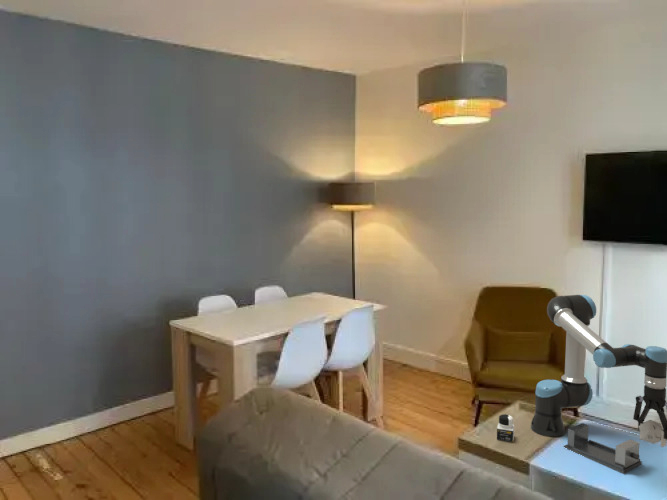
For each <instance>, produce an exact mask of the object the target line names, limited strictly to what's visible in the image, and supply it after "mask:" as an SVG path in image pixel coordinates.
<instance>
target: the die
mask: <svg viewBox="0 0 667 500" xmlns="http://www.w3.org/2000/svg"><path fill="white" fill-rule="evenodd" d="M644 422H645V423H643V424H641V425H640V426H638V425H637V428H638V427H639V430H638V431H639V433H640V432H641V435H642V438H643V441H645V442H648V443H651V444H653V445H654V444H656V443H659V442H661V430H663V427H662V424H661V422H658V421H654V420H653V419H649V420H648V419H647V420H646V421H644Z"/></svg>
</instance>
